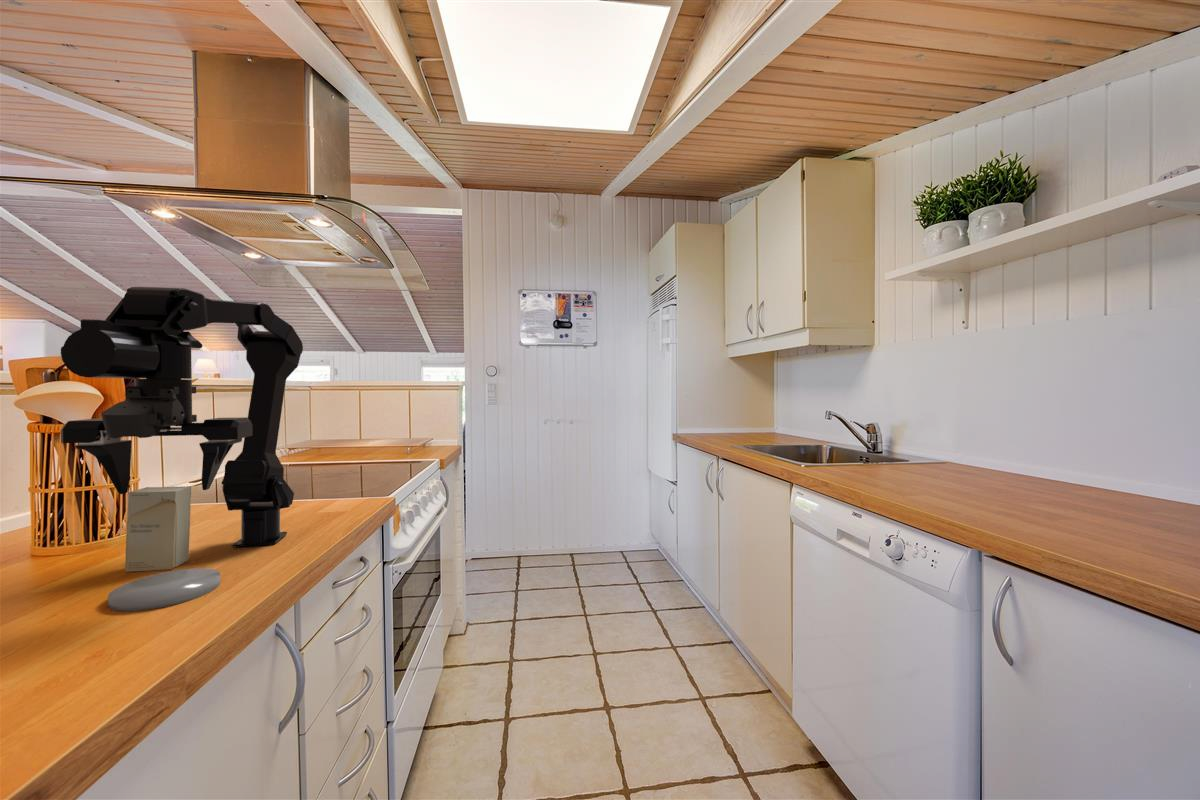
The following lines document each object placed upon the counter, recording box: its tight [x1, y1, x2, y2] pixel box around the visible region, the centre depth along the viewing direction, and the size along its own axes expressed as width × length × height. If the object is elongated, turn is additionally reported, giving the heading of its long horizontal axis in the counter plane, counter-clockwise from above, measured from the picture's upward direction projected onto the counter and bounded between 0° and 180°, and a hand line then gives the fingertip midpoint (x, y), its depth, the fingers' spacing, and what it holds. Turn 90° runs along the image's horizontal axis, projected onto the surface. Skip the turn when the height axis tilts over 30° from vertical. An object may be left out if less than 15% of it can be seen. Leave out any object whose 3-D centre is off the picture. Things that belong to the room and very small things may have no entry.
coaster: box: [107, 567, 221, 612], centre depth 62 cm, size 11×11×1 cm
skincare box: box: [124, 485, 192, 573], centre depth 71 cm, size 6×4×12 cm
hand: (165, 491), depth 63 cm, fingers open, 9 cm apart
